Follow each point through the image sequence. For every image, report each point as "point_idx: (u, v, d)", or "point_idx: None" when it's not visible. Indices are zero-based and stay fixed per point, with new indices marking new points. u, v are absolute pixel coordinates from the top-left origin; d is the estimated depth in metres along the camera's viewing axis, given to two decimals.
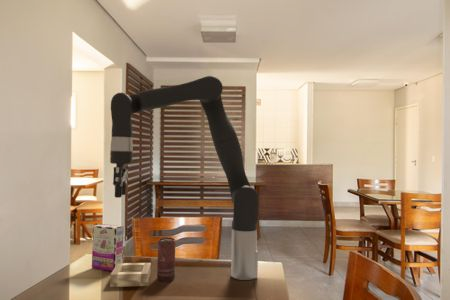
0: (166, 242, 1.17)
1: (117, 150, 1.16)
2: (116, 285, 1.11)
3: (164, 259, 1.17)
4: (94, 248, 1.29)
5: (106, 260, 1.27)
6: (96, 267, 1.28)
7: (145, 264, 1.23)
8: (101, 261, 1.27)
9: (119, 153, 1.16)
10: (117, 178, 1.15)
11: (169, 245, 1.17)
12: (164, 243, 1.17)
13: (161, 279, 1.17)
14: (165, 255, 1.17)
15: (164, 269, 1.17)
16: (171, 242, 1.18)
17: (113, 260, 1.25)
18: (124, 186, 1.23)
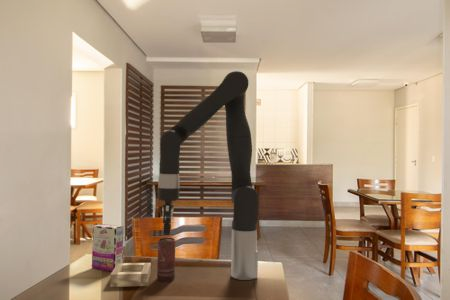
0: (166, 242, 1.17)
1: (166, 187, 1.17)
2: (116, 285, 1.11)
3: (164, 259, 1.17)
4: (94, 248, 1.29)
5: (106, 260, 1.27)
6: (96, 267, 1.28)
7: (145, 264, 1.23)
8: (101, 261, 1.27)
9: (168, 190, 1.17)
10: (166, 215, 1.16)
11: (169, 245, 1.17)
12: (164, 243, 1.17)
13: (161, 279, 1.17)
14: (165, 255, 1.17)
15: (164, 269, 1.17)
16: (171, 242, 1.18)
17: (113, 260, 1.25)
18: None
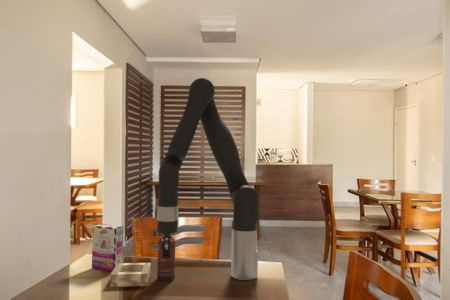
0: None
1: (165, 221, 1.16)
2: (116, 285, 1.11)
3: (164, 259, 1.17)
4: (94, 248, 1.29)
5: (106, 260, 1.27)
6: (96, 267, 1.28)
7: (145, 264, 1.23)
8: (101, 261, 1.27)
9: (167, 224, 1.16)
10: None
11: None
12: None
13: (161, 279, 1.17)
14: None
15: (164, 269, 1.17)
16: (171, 242, 1.18)
17: (113, 260, 1.25)
18: None
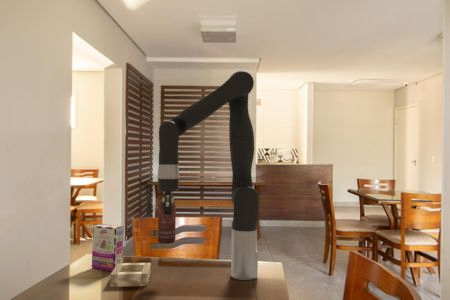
0: None
1: (165, 178, 1.17)
2: (116, 285, 1.11)
3: (164, 221, 1.17)
4: (94, 248, 1.29)
5: (106, 260, 1.27)
6: (96, 267, 1.28)
7: (145, 264, 1.23)
8: (101, 261, 1.27)
9: (167, 181, 1.17)
10: None
11: None
12: None
13: (162, 241, 1.17)
14: (165, 217, 1.17)
15: (165, 231, 1.17)
16: (171, 204, 1.18)
17: (113, 260, 1.25)
18: None
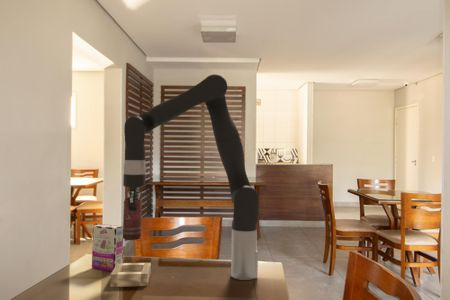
0: None
1: (130, 174, 1.15)
2: (116, 285, 1.11)
3: (129, 218, 1.16)
4: (94, 248, 1.29)
5: (106, 260, 1.27)
6: (96, 267, 1.28)
7: (145, 264, 1.23)
8: (101, 261, 1.27)
9: (132, 177, 1.15)
10: None
11: None
12: None
13: (126, 237, 1.16)
14: (130, 213, 1.16)
15: (130, 227, 1.15)
16: (137, 200, 1.17)
17: (113, 260, 1.25)
18: None
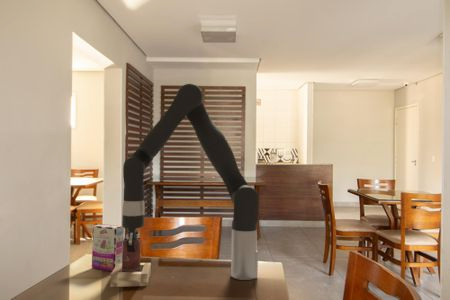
0: None
1: (129, 215, 1.15)
2: (116, 285, 1.11)
3: (128, 259, 1.15)
4: (94, 248, 1.29)
5: (106, 260, 1.27)
6: (96, 267, 1.28)
7: (145, 264, 1.23)
8: (101, 261, 1.27)
9: (131, 218, 1.15)
10: None
11: None
12: None
13: None
14: (129, 255, 1.15)
15: (128, 269, 1.15)
16: (135, 241, 1.16)
17: (113, 260, 1.25)
18: None
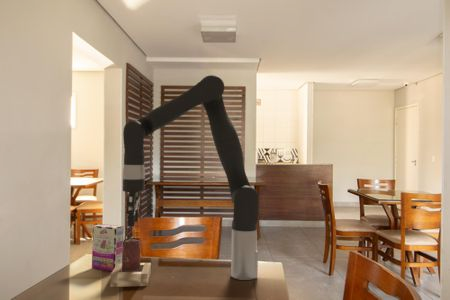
0: (130, 242, 1.16)
1: (130, 178, 1.15)
2: (116, 285, 1.11)
3: (127, 260, 1.15)
4: (94, 248, 1.29)
5: (106, 260, 1.27)
6: (96, 267, 1.28)
7: (145, 264, 1.23)
8: (101, 261, 1.27)
9: (132, 181, 1.15)
10: (130, 207, 1.15)
11: (133, 245, 1.16)
12: (128, 243, 1.15)
13: None
14: (129, 256, 1.15)
15: (128, 270, 1.15)
16: (135, 242, 1.16)
17: (113, 260, 1.25)
18: (136, 213, 1.22)
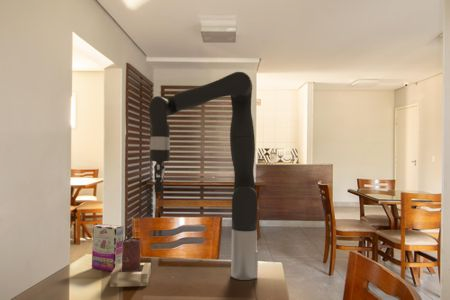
0: (130, 242, 1.16)
1: (157, 149, 1.26)
2: (116, 285, 1.11)
3: (127, 260, 1.15)
4: (94, 248, 1.29)
5: (106, 260, 1.27)
6: (96, 267, 1.28)
7: (145, 264, 1.23)
8: (101, 261, 1.27)
9: (159, 151, 1.26)
10: (157, 174, 1.26)
11: (133, 245, 1.16)
12: (128, 243, 1.15)
13: None
14: (129, 256, 1.15)
15: (128, 270, 1.15)
16: (135, 242, 1.16)
17: (113, 260, 1.25)
18: (161, 182, 1.34)
